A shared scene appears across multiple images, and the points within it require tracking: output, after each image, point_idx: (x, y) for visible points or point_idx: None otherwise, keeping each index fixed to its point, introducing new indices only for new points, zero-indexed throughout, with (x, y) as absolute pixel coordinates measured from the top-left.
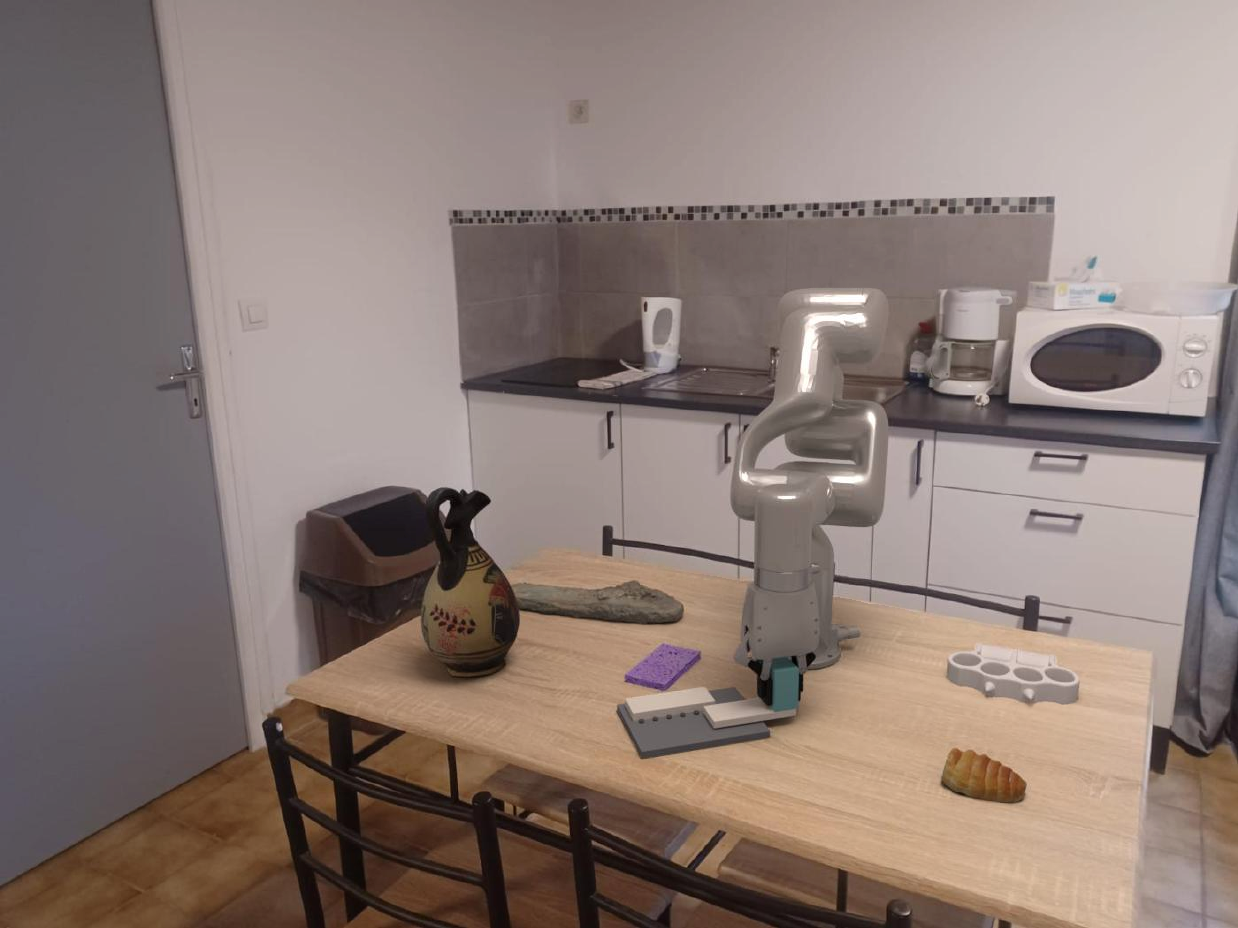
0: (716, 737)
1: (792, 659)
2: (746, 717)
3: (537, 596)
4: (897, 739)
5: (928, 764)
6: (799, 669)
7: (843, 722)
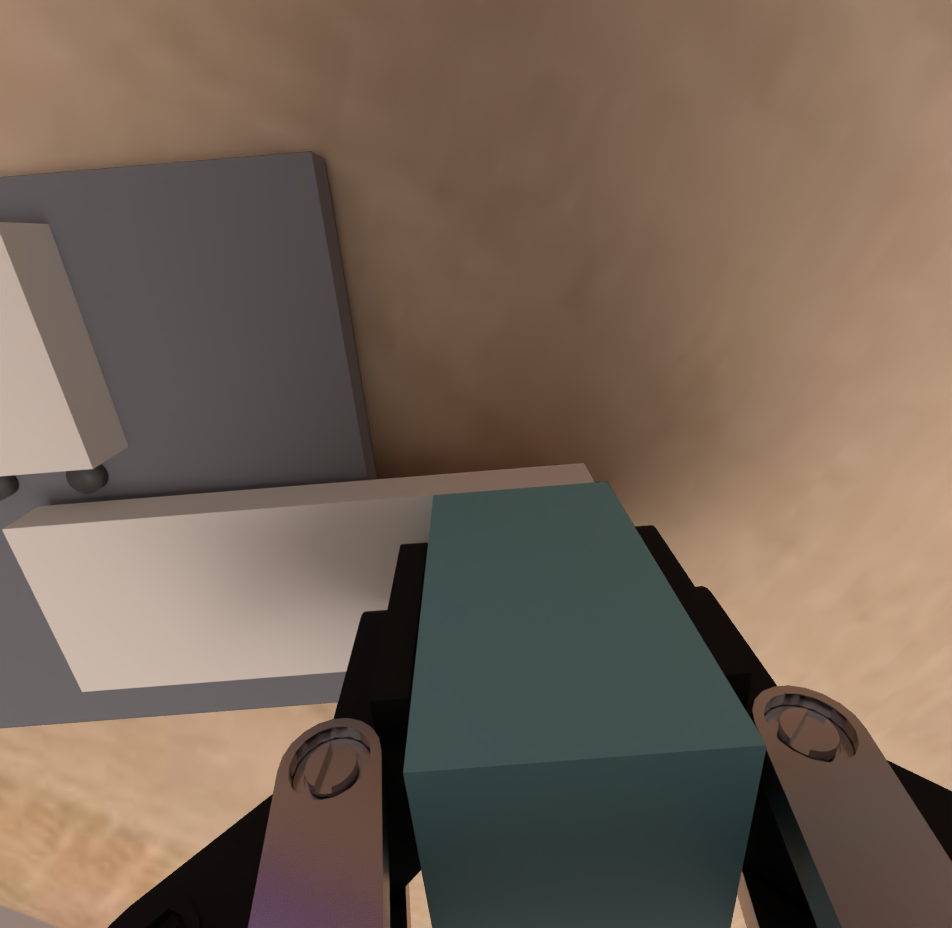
0: (126, 704)
1: (784, 817)
2: (281, 671)
3: None
4: (911, 754)
5: None
6: (740, 893)
7: (797, 617)
